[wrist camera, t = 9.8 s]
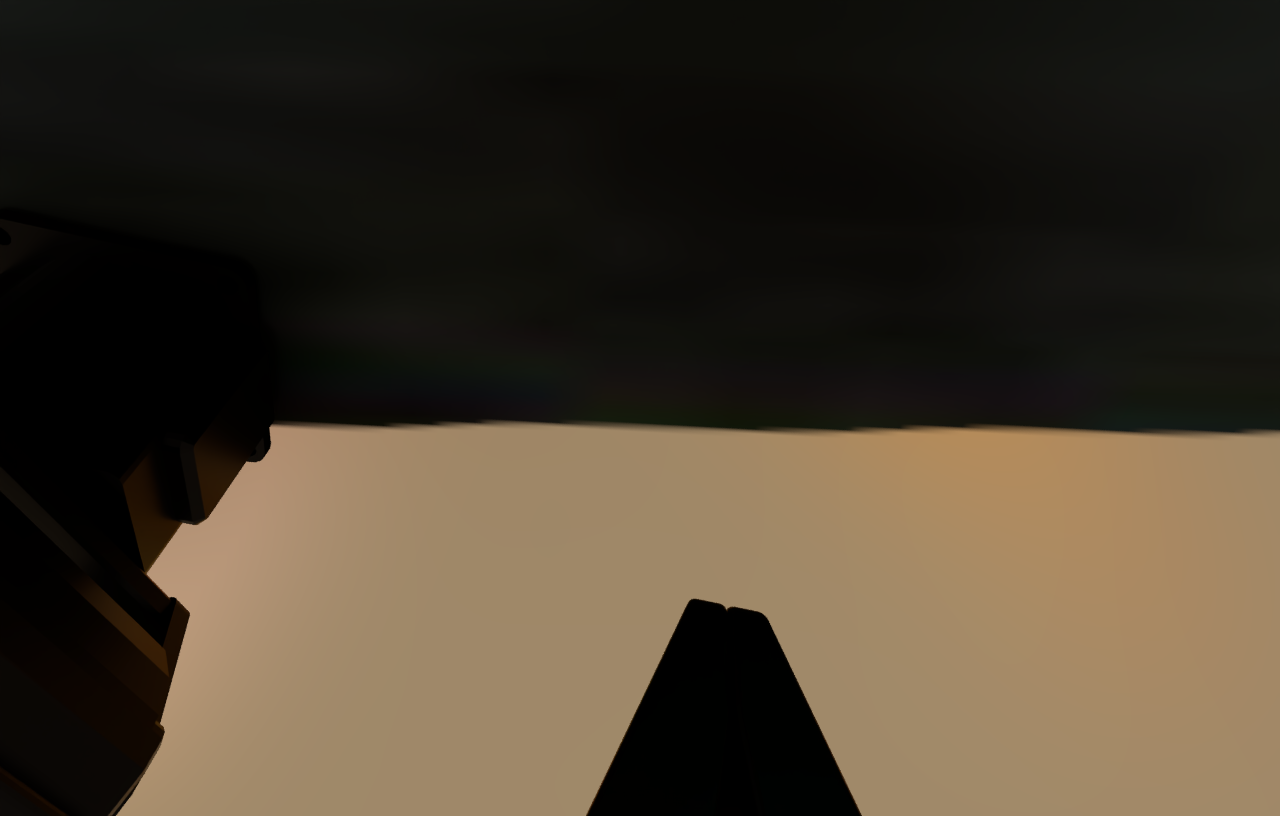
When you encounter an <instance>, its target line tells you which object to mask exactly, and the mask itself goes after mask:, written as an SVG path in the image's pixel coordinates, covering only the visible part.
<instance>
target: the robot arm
mask: <svg viewBox="0 0 1280 816" xmlns="http://www.w3.org/2000/svg"><path fill="white" fill-rule="evenodd" d="M2 229H4V230H5V231H6V232H7V233H8V234H9V235H10V236H9V235H7V234H6V233H5V232H4V231H3V230H2ZM225 277H228V278H231V279H232V280H233V281H234V282H235V283H236V284H237V286H234V285H232V284H230V283H229V282H228V281H227V280H226V278H225ZM273 421H274V408H273V397H272V386H271V375H270V365H269V354H268V350H267V349H266V347H265V345H264V344H263V342H261V337H260V327H259V317H258V307H257V297H256V286H255V280H254V277H253V274H252V273H251V272H250V270H249V269H248V268H247V267H245V266H244V265H243V264H241V263H239V262H237V261H234V260H230V259H226V258H221V257H217V256H212V255H208V254H203V253H198V252H194V251H189V250H185V249H180V248H176V247H171V246H167V245H162V244H158V243H153V242H149V241H144V240H139V239H135V238H130V237H126V236H121V235H117V234H112V233H108V232H103V231H99V230H94V229H90V228H85V227H80V226H76V225H71V224H67V223H62V222H58V221H53V220H49V219H44V218H40V217H35V216H31V215H26V214H21V213H17V212H12V211H8V210H0V816H116V815H117V814H118V812H119V811H120V810H121V808H122V807H123V806H124V804H125V803H126V802H127V800H128V799H129V798H130V797H131V795H132V794H133V792H134V790H135V788H136V787H137V785H138V783H139V781H140V780H141V778H142V777H143V775H144V774H145V772H146V770H147V769H148V767H149V765H150V763H151V762H152V760H153V758H154V756H155V755H156V753H157V751H158V749H159V748H160V745H161V742H162V739H163V736H164V733H165V731H164V727H163V726H162V725H161V724H160V722H161V718H162V715H163V711H164V707H165V704H166V700H167V696H168V693H169V689H170V685H171V682H172V678H173V675H174V671H175V667H176V664H177V660H178V656H179V653H180V649H181V645H182V642H183V638H184V634H185V631H186V627H187V623H188V620H189V616H190V613H189V611H188V610H186V608H185V607H184V606H183V605H182V604H181V603H180V602H179V601H178V600H177V599H176V598H174V597H170V598H169V597H168V596H167V595H166V594H165V593H164V592H163V591H162V590H161V589H160V588H159V587H158V586H157V585H156V584H155V583H154V582H153V581H152V580H151V579H150V578H149V577H148V575H147V572H148V571H149V569H150V568H151V567H152V565H153V564H154V562H155V561H156V559H157V558H158V557H159V555H160V554H161V552H162V551H163V550H164V548H165V547H166V545H167V544H168V543H169V541H170V540H171V538H172V537H173V536H174V534H175V533H176V531H177V530H178V528H179V527H180V525H181V524H182V523H187V524H192V525H198V524H199V523H201V522H203V521H204V520H206V519H207V518H208V517H209V515H210V514H211V512H212V511H213V509H214V508H215V507H216V505H217V504H218V502H219V501H220V499H221V498H222V496H223V495H224V493H225V492H226V490H227V489H228V488H229V486H230V484H231V483H232V482H233V480H234V479H235V477H236V476H237V474H238V473H239V471H240V470H241V468H242V467H243V465H244V464H245V463H246V461H247V462H257V461H261V460H262V459H263V458H264V457H265V455H266V454H267V452H268V450H269V449H270V446H271V441H270V430H269V427H270V426H271V425H272V423H273ZM586 816H862V815H861V813H860V811H859V809H858V807H857V804H856V803H855V800H854V798H853V796H852V794H851V792H850V790H849V788H848V786H847V784H846V782H845V779H844V777H843V775H842V773H841V771H840V769H839V767H838V765H837V763H836V761H835V758H834V756H833V754H832V752H831V750H830V748H829V746H828V744H827V742H826V740H825V738H824V736H823V733H822V731H821V729H820V727H819V725H818V723H817V721H816V719H815V717H814V715H813V713H812V710H811V708H810V706H809V704H808V702H807V700H806V698H805V696H804V694H803V692H802V690H801V687H800V685H799V683H798V681H797V679H796V677H795V675H794V673H793V671H792V669H791V667H790V665H789V662H788V660H787V658H786V656H785V654H784V652H783V650H782V648H781V646H780V644H779V642H778V639H777V637H776V635H775V634H774V631H773V629H772V627H771V625H770V623H769V621H768V619H767V618H766V616H764V615H763V614H762V613H760V612H758V611H753V610H748V609H743V608H738V607H729V608H728V609H727V610H726V608H725V607H724V606H723V605H722V604H719V603H714V602H709V601H705V600H699V599H691V600H690V601H689V602H688V604H687V606H686V608H685V610H684V612H683V614H682V616H681V618H680V620H679V623H678V625H677V627H676V629H675V631H674V633H673V635H672V637H671V639H670V641H669V644H668V645H667V648H666V650H665V652H664V654H663V656H662V659H661V660H660V662H659V664H658V667H657V668H656V670H655V673H654V675H653V677H652V679H651V681H650V683H649V685H648V687H647V689H646V692H645V693H644V696H643V698H642V700H641V702H640V704H639V706H638V708H637V710H636V712H635V714H634V717H633V719H632V721H631V723H630V725H629V727H628V729H627V731H626V733H625V735H624V737H623V739H622V742H621V744H620V746H619V748H618V750H617V752H616V754H615V756H614V758H613V761H612V763H611V765H610V767H609V769H608V771H607V773H606V775H605V777H604V779H603V781H602V783H601V786H600V788H599V790H598V792H597V794H596V796H595V798H594V800H593V802H592V804H591V806H590V808H589V811H588V813H587V815H586Z"/></svg>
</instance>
